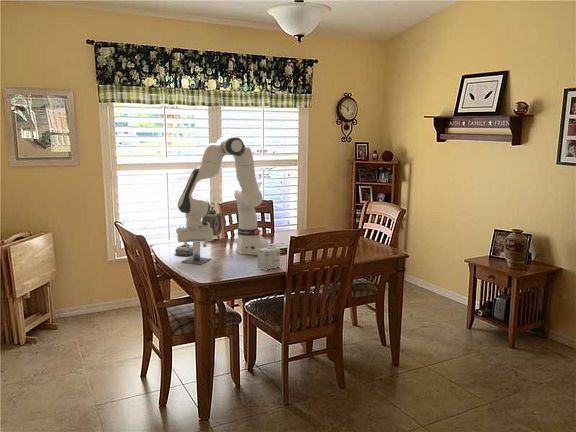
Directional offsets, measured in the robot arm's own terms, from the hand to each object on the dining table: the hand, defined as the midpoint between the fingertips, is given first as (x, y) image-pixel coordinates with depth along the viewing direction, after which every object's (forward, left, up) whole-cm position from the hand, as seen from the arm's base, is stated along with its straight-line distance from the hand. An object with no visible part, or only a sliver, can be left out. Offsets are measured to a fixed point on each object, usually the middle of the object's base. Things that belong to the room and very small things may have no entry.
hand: (196, 247), depth 285 cm
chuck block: (+14, -11, -8) cm, 19 cm away
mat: (0, +1, -8) cm, 8 cm away
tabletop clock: (+18, -51, -8) cm, 55 cm away
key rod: (-1, +1, -7) cm, 7 cm away
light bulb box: (-42, -3, -8) cm, 43 cm away
